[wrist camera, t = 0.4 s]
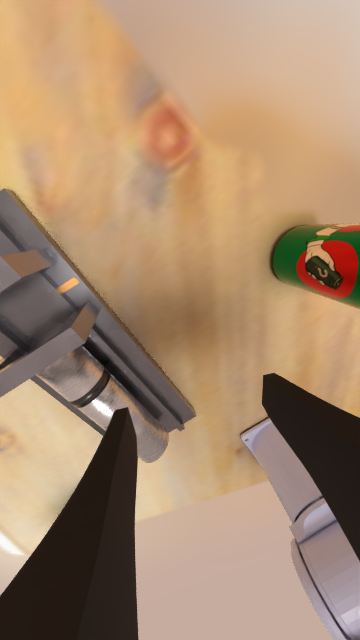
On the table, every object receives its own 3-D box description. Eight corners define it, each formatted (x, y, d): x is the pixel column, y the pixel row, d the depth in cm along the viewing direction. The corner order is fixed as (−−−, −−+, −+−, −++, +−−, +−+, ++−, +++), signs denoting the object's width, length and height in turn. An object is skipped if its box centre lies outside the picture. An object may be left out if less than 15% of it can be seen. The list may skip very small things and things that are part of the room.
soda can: (286, 293, 21) (452, 362, 10) (258, 255, 19) (430, 290, 8) (327, 255, 20) (557, 284, 9) (303, 211, 18) (563, 182, 7)
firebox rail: (193, 409, 24) (210, 461, 19) (129, 448, 25) (127, 510, 19) (12, 191, 14) (-71, 164, 8) (-95, 266, 14) (-242, 289, 9)
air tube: (166, 419, 23) (171, 451, 19) (138, 436, 23) (139, 470, 19) (82, 332, 17) (69, 356, 14) (46, 355, 17) (25, 384, 14)
